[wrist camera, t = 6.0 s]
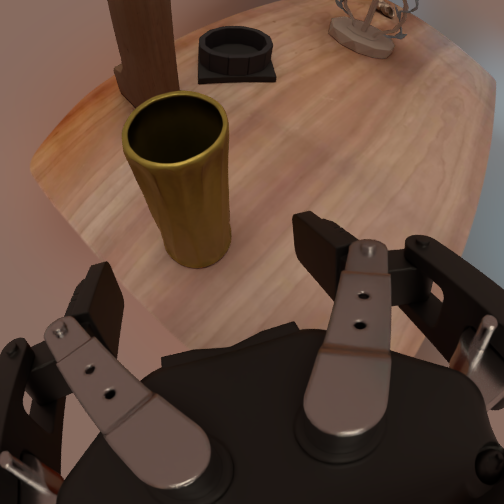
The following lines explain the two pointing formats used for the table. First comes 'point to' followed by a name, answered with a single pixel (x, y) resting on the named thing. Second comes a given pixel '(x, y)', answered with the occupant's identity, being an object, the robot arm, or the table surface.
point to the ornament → (385, 8)
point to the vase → (183, 172)
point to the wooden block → (144, 48)
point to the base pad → (235, 56)
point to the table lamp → (367, 31)
